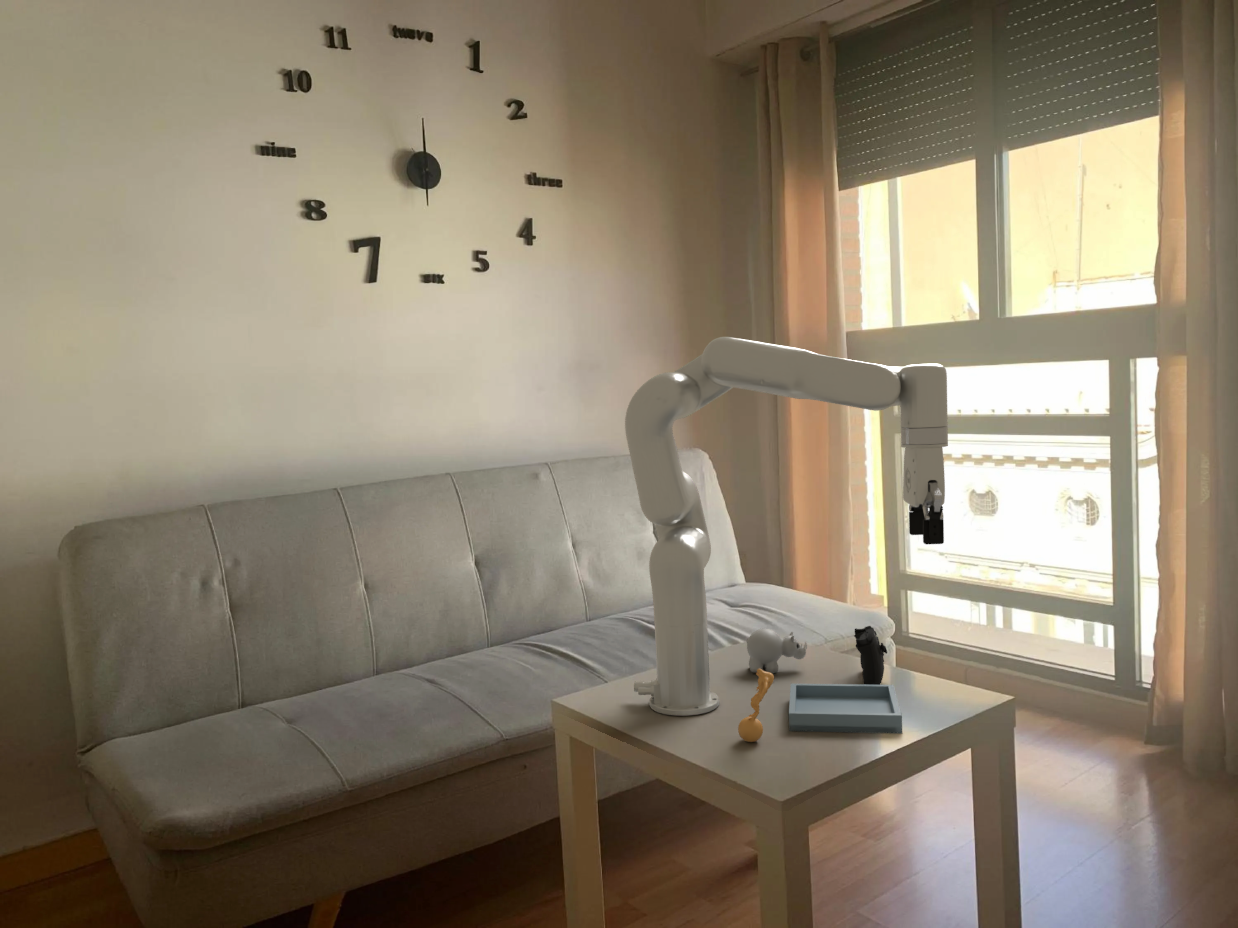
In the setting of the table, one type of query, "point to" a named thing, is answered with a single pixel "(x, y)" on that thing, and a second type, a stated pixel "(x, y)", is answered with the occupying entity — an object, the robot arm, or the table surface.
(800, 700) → the tray
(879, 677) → the black elongated piece
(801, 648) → the chubby cartoon animal
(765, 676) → the figurine
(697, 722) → the table surface
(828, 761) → the table surface
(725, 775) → the table surface
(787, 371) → the robot arm
